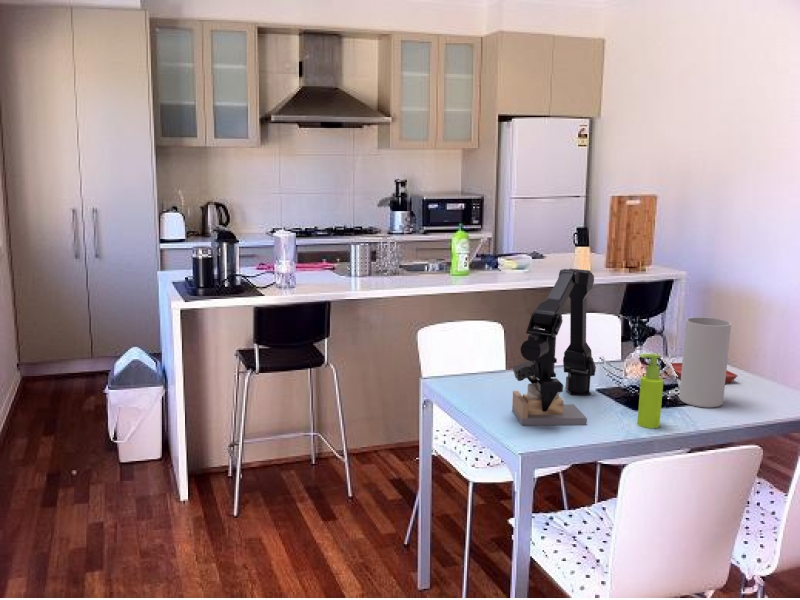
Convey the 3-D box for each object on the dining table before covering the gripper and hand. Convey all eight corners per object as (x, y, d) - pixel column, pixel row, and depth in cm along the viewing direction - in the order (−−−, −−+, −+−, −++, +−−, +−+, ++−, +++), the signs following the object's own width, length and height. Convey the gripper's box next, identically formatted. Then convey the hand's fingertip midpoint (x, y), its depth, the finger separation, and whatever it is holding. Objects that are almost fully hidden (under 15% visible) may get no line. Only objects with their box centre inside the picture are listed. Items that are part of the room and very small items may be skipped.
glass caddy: (556, 407, 221) (558, 382, 219) (562, 414, 215) (564, 388, 213) (522, 407, 220) (523, 382, 218) (527, 414, 214) (528, 388, 213)
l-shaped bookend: (573, 410, 224) (574, 390, 223) (586, 424, 213) (587, 403, 212) (512, 411, 223) (513, 390, 222) (521, 425, 211) (522, 404, 210)
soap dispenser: (630, 421, 217) (636, 351, 213) (654, 421, 217) (660, 351, 214) (638, 428, 211) (644, 357, 207) (663, 428, 211) (669, 357, 208)
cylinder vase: (731, 404, 234) (740, 323, 229) (704, 410, 227) (713, 327, 223) (696, 393, 244) (704, 315, 240) (670, 399, 238) (677, 319, 233)
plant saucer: (660, 371, 270) (661, 362, 270) (707, 370, 274) (708, 361, 273) (687, 386, 253) (688, 377, 252) (738, 385, 256) (739, 375, 255)
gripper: (508, 345, 223) (506, 397, 226) (523, 362, 204) (520, 418, 207) (546, 345, 224) (543, 397, 226) (565, 362, 205) (561, 418, 208)
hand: (541, 407), depth 217 cm, fingers open, 6 cm apart
